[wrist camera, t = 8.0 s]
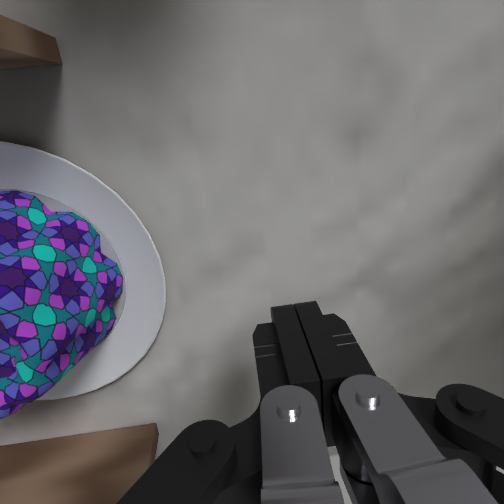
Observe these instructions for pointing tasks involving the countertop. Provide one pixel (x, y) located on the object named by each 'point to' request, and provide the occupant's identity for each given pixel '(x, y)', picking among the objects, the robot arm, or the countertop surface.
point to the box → (77, 446)
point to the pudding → (69, 282)
